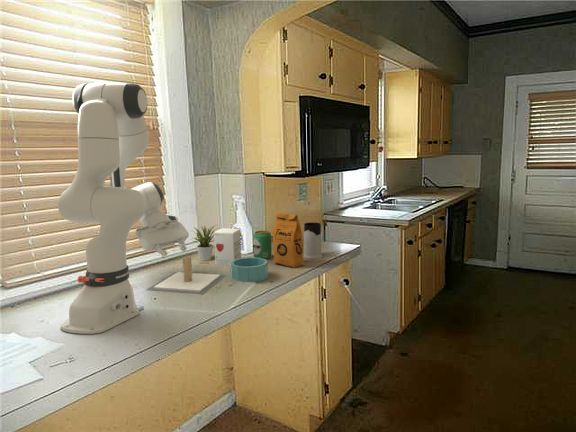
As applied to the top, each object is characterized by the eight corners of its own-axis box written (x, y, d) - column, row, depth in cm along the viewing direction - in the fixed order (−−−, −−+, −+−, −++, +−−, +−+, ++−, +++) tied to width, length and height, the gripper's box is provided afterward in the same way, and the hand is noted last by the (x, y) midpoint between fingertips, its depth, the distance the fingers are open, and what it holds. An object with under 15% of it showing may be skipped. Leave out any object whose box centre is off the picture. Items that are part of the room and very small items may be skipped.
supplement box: (214, 266, 179) (213, 231, 176) (222, 260, 187) (221, 227, 185) (234, 267, 177) (233, 232, 174) (241, 261, 185) (240, 228, 183)
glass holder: (299, 256, 192) (299, 224, 190) (314, 250, 204) (314, 219, 201) (316, 259, 187) (316, 226, 185) (330, 252, 199) (331, 221, 196)
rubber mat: (203, 295, 143) (203, 294, 143) (145, 291, 148) (145, 290, 148) (226, 276, 164) (226, 275, 164) (175, 273, 169) (175, 271, 169)
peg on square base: (200, 291, 145) (198, 265, 144) (153, 288, 150) (151, 262, 148) (220, 276, 163) (219, 252, 161) (177, 273, 167) (176, 250, 165)
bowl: (261, 283, 155) (261, 268, 154) (226, 281, 158) (225, 266, 157) (271, 272, 168) (271, 258, 167) (238, 270, 171) (238, 256, 170)
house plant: (227, 255, 197) (226, 220, 194) (219, 263, 183) (218, 226, 180) (197, 254, 198) (196, 220, 195) (188, 262, 184) (186, 226, 182)
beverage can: (250, 258, 191) (249, 232, 189) (264, 254, 196) (263, 229, 194) (261, 261, 185) (260, 234, 183) (275, 258, 190) (274, 232, 188)
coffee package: (292, 269, 172) (292, 217, 168) (270, 264, 180) (269, 214, 176) (307, 264, 180) (307, 213, 176) (285, 259, 188) (284, 211, 184)
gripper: (136, 224, 151) (156, 253, 148) (179, 215, 168) (198, 242, 165) (129, 234, 155) (149, 264, 151) (172, 225, 171) (191, 251, 168)
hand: (175, 252), depth 158 cm, fingers open, 8 cm apart
